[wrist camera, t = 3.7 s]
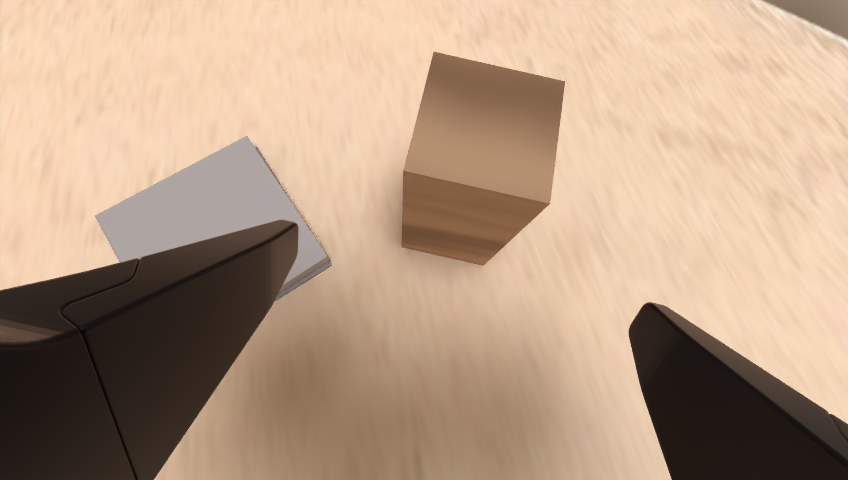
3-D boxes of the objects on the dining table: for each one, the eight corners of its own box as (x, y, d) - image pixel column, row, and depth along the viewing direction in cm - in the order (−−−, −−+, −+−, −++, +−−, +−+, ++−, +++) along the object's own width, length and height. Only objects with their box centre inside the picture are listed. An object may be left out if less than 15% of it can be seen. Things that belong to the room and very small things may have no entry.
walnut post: (483, 265, 22) (549, 203, 12) (401, 247, 22) (403, 170, 12) (496, 190, 23) (564, 81, 13) (419, 172, 23) (433, 51, 13)
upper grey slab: (181, 356, 19) (170, 356, 18) (108, 221, 21) (94, 215, 20) (330, 260, 21) (327, 256, 20) (253, 144, 23) (246, 135, 22)
